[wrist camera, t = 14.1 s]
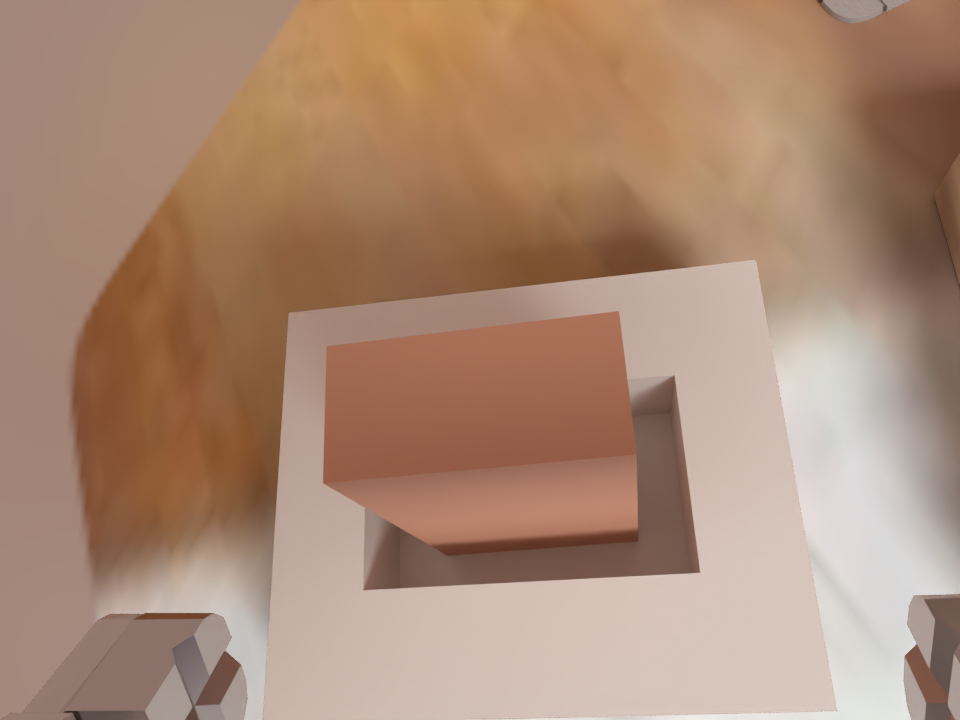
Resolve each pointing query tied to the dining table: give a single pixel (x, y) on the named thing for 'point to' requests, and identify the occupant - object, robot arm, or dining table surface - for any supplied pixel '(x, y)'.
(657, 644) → the frame
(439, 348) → the block
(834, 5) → the handheld gaming device
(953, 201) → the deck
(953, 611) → the robot arm
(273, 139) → the dining table surface
